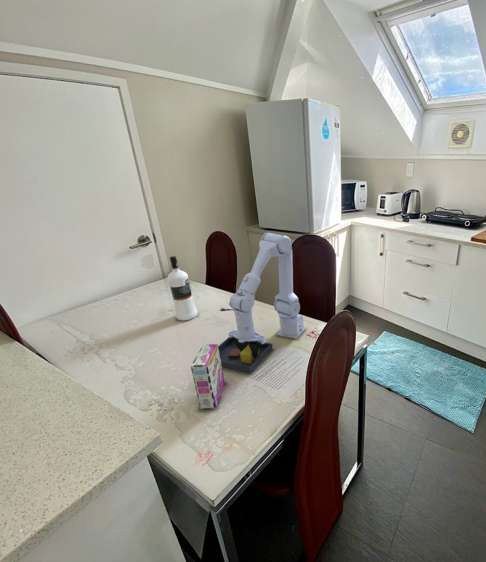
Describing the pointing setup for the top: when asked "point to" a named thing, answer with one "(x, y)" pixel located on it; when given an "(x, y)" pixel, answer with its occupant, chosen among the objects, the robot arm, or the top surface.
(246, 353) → the sponge
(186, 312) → the vodka
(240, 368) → the dark grey tray
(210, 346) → the candy bar box
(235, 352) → the scrap
